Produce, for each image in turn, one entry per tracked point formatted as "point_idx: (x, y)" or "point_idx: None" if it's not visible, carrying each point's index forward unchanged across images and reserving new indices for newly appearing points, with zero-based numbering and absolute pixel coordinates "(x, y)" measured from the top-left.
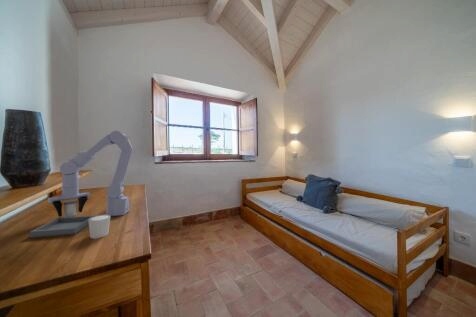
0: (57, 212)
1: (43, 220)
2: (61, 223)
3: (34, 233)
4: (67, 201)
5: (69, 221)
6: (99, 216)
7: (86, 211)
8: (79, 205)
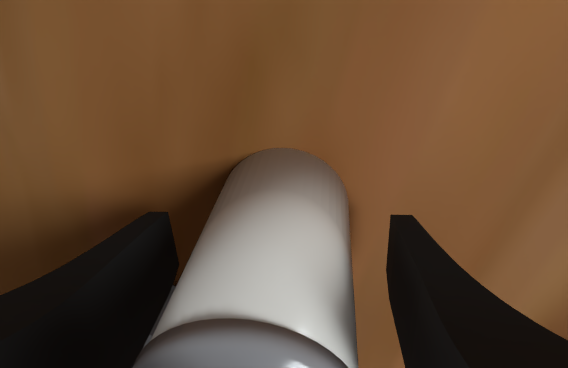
0: (114, 240)
1: (25, 41)
2: None
3: None
4: (192, 363)
5: None
6: None
7: (558, 55)
8: (415, 307)
